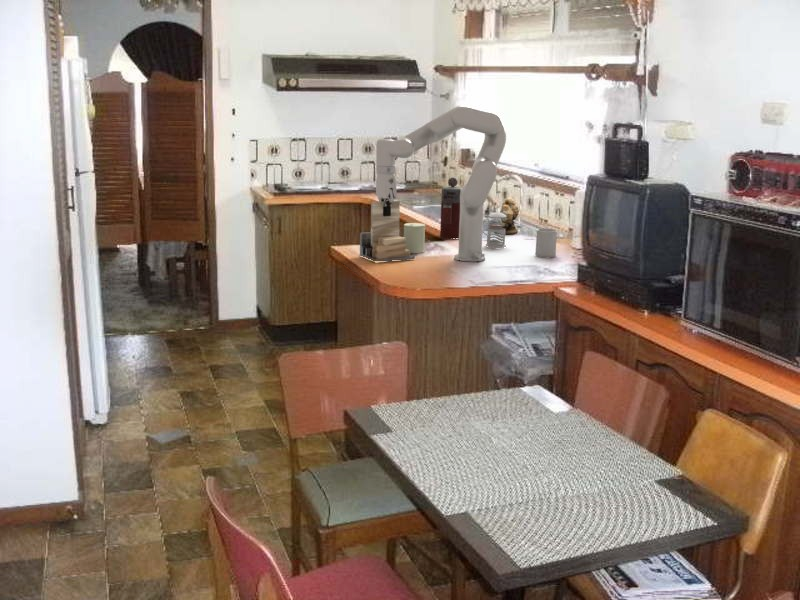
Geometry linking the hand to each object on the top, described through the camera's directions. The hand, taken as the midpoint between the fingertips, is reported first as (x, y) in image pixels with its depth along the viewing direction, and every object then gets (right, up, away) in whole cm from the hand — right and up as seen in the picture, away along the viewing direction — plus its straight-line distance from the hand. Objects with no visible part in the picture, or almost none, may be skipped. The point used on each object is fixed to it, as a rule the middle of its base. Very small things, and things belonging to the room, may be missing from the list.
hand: (385, 215), depth 364 cm
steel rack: (+1, -18, +2) cm, 18 cm away
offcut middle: (+2, -14, -2) cm, 15 cm away
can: (+12, -14, +19) cm, 26 cm away
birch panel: (0, -12, +3) cm, 12 cm away
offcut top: (+3, -12, -3) cm, 12 cm away
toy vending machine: (+30, -6, +54) cm, 62 cm away
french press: (+48, -11, +34) cm, 60 cm away
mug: (+68, -16, +17) cm, 72 cm away
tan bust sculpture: (+58, -2, +73) cm, 93 cm away
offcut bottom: (+2, -17, -2) cm, 17 cm away
